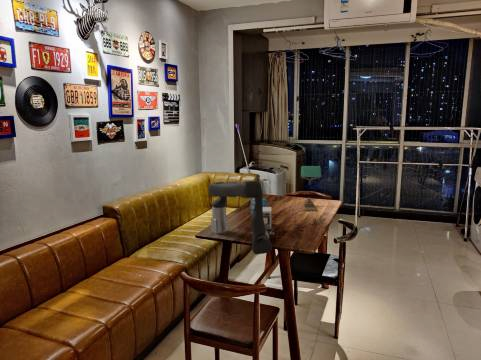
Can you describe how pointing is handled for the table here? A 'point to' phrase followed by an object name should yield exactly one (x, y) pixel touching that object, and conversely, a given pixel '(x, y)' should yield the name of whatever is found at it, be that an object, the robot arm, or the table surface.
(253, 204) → the data package
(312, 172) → the banker's lamp
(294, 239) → the table surface
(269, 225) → the grey open box
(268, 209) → the tunnel
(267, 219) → the maple block
